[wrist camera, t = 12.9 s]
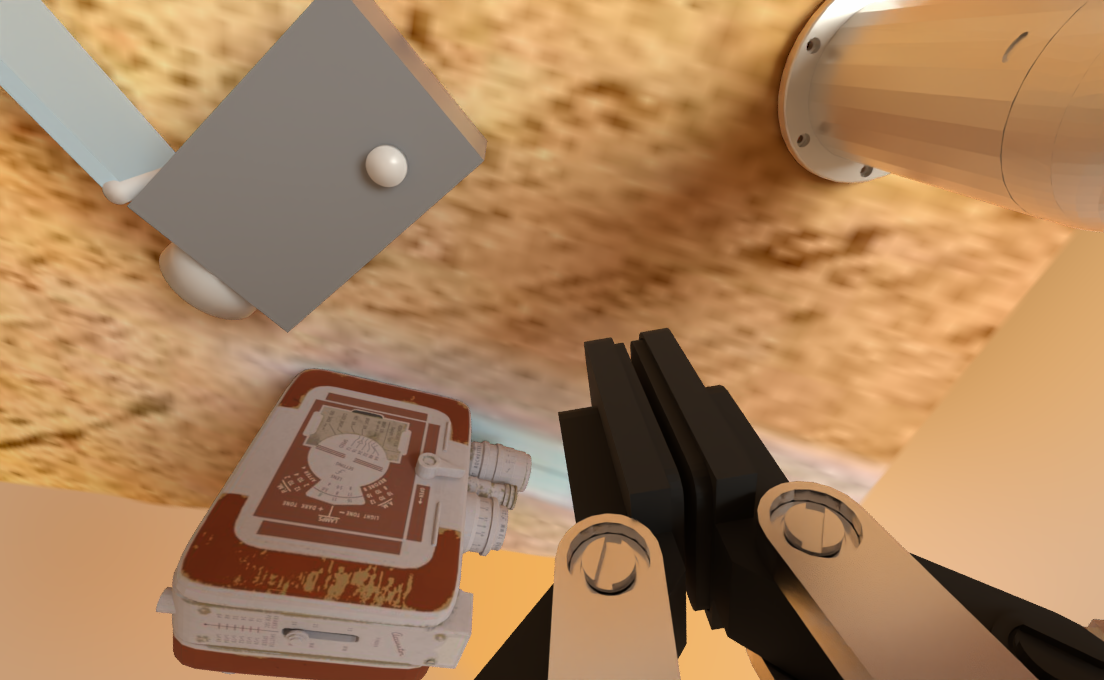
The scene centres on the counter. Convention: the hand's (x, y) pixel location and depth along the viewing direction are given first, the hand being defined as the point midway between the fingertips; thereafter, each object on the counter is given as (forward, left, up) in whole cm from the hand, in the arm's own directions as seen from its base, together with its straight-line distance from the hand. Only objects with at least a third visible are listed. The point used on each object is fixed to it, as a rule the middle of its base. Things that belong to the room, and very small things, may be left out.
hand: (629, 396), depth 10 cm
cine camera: (+22, +10, -27) cm, 36 cm away
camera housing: (+12, -8, -27) cm, 31 cm away
